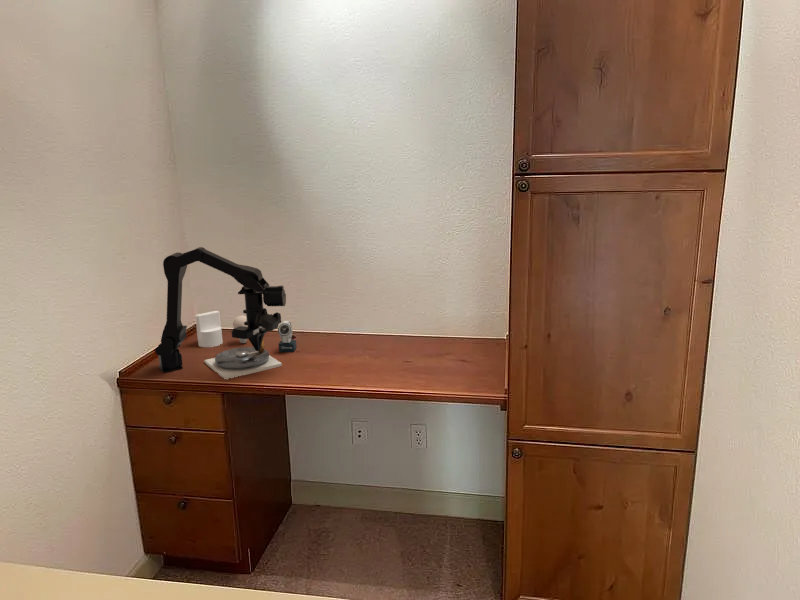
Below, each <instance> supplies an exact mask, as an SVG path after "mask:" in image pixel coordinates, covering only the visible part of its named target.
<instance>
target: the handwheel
mask: <svg viewBox="0 0 800 600" xmlns="http://www.w3.org/2000/svg"><path fill="white" fill-rule="evenodd" d="M264 337H265V336H264ZM264 337H263V340H262V344H261V348H260V351H256V350H255V348H254V347H253V346H241V347H235V348H234V347H233V348H230V349H226V350H223V351H221V352H219V353H218V354H216V355H215V357H214V358H215V363H216V365H217V366H219V367H222V368H227V369H243V368H250V367H254V366H257V365H260V364H263V363H265V362H266V361H267V360H268V359H269V355H270V353H269V351H268V350H267V349H266V348H265V338H264Z"/></svg>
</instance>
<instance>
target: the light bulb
mask: <svg viewBox="0 0 800 600" xmlns="http://www.w3.org/2000/svg"><path fill="white" fill-rule="evenodd" d="M232 321H233V322H232V326H233V329H234V328H237V327H239V326H243V327H248V325H244V322H246V321H247V318H246V315H238V316H236V317H235V318H234V319H233V320H232ZM238 339H239V343H240V344H245V343H247V342H248V339H240V338H238Z"/></svg>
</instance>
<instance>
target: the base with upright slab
mask: <svg viewBox="0 0 800 600" xmlns="http://www.w3.org/2000/svg"><path fill="white" fill-rule="evenodd" d="M194 317H195V325H196V326H195V327H196V335H197V343H198V346H199V347H200V348H213V347H214V346H215V347H217V346H221V345H222V344H223V343H224V341H223V332H222V331H223V330H222V323H221V312H220V311H219V310H213V311H207V312H203V313H198V314H195V315H194ZM220 344H221V345H220Z"/></svg>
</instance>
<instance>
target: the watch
mask: <svg viewBox="0 0 800 600" xmlns="http://www.w3.org/2000/svg"><path fill="white" fill-rule="evenodd" d="M293 331H294V329H293V326H292V321H291V320H283V321H281V323H279V325H278V328H277V333H278V335H279V338H280V342H278V352H279V353H295V351H296V350H297V348H298V347H297V346H298V345H297V339H295V340H293V339H292V338H293Z"/></svg>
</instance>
